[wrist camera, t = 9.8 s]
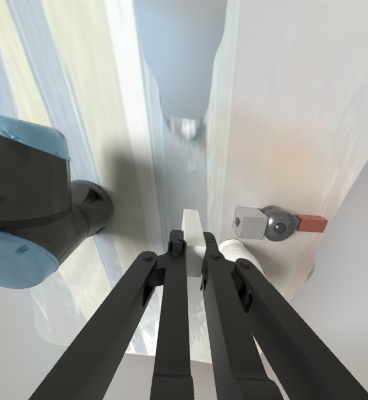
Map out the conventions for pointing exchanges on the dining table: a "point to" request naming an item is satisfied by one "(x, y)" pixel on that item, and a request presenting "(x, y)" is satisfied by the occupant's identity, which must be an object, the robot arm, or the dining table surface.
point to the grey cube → (249, 223)
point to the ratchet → (289, 223)
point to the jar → (238, 252)
